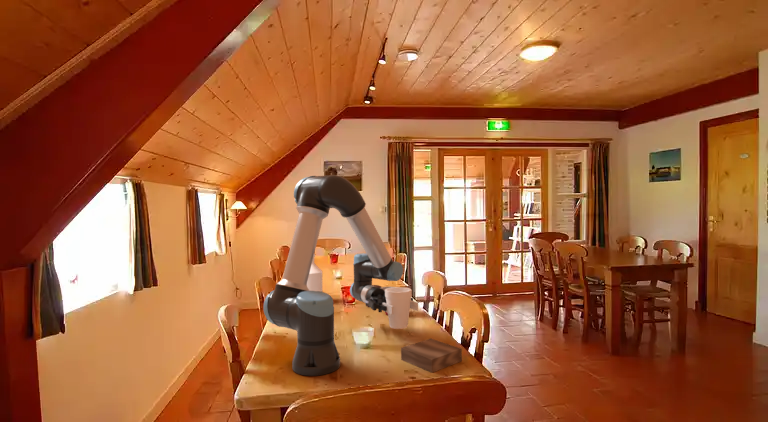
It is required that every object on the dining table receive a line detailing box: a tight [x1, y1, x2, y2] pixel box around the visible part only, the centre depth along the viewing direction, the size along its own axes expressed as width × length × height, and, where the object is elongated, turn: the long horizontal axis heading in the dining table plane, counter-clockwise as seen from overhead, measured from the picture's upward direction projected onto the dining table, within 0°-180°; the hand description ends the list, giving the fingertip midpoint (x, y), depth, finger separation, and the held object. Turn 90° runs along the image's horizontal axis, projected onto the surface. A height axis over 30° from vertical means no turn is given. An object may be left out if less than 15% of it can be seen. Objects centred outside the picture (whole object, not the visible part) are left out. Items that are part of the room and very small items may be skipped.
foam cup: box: [385, 286, 413, 330], centre depth 152 cm, size 10×9×13 cm
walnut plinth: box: [400, 338, 463, 373], centre depth 141 cm, size 14×14×4 cm
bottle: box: [307, 253, 323, 292], centre depth 222 cm, size 12×12×25 cm
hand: (405, 308), depth 148 cm, fingers closed on foam cup, 9 cm apart
